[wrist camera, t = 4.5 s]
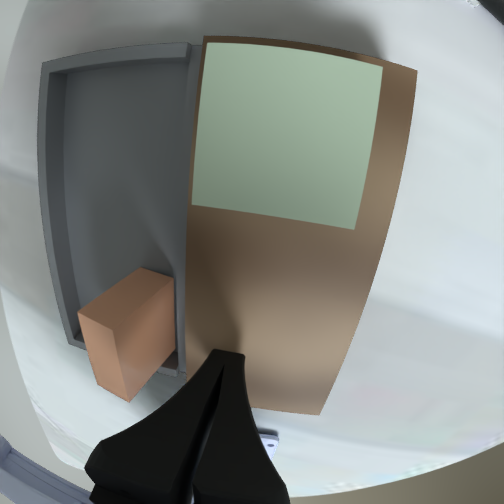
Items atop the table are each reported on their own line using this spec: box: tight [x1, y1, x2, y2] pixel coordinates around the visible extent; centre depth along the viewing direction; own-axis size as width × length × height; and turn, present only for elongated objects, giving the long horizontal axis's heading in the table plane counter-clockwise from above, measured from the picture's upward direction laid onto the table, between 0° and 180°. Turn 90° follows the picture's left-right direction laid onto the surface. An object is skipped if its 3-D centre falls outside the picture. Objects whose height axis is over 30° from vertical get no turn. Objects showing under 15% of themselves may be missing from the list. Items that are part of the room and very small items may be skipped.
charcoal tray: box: [37, 42, 203, 377], centre depth 14 cm, size 16×8×2 cm, turn 173°
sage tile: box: [192, 43, 383, 230], centre depth 8 cm, size 4×4×2 cm
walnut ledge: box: [185, 36, 417, 415], centre depth 13 cm, size 16×7×3 cm, turn 173°
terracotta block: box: [77, 267, 176, 402], centre depth 13 cm, size 4×4×2 cm
